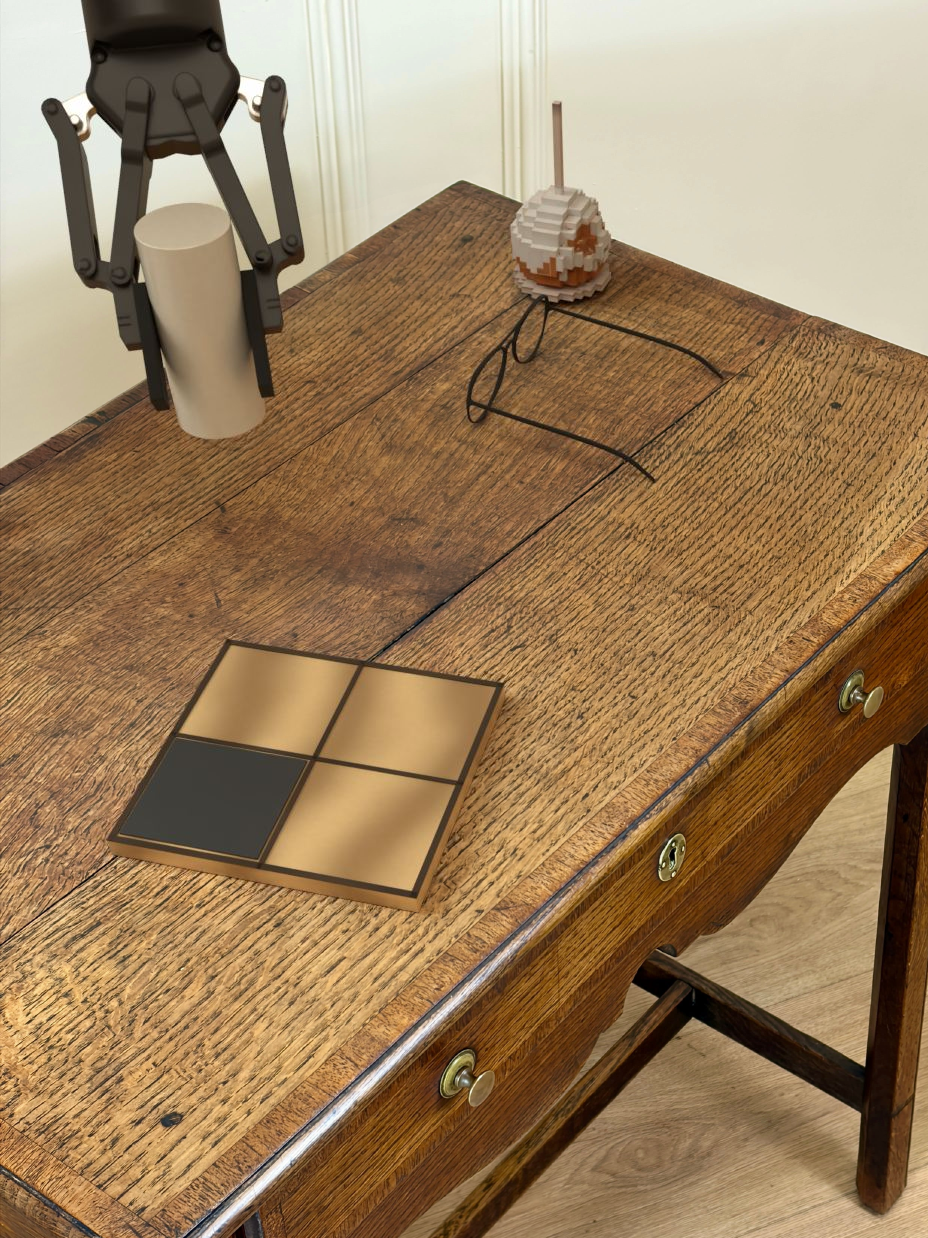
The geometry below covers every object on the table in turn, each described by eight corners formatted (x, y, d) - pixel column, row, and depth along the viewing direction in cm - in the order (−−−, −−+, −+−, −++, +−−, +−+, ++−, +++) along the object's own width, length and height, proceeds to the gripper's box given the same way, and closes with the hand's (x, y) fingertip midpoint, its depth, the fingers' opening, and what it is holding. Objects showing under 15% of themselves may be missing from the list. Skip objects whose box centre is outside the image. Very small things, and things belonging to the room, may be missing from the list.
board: (111, 854, 88) (105, 839, 87) (230, 654, 100) (226, 638, 99) (418, 913, 85) (416, 897, 84) (505, 698, 96) (504, 682, 95)
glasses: (543, 339, 124) (547, 283, 121) (720, 397, 121) (730, 341, 117) (462, 437, 115) (464, 380, 112) (651, 502, 112) (660, 445, 108)
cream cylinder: (163, 433, 93) (117, 243, 84) (198, 385, 96) (157, 198, 88) (246, 444, 92) (208, 253, 83) (279, 395, 95) (245, 207, 87)
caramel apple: (589, 314, 127) (587, 131, 116) (500, 298, 129) (489, 117, 118) (622, 267, 132) (622, 88, 121) (535, 253, 134) (528, 75, 123)
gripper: (314, 0, 93) (375, 392, 94) (-4, 31, 91) (61, 433, 92) (308, -65, 86) (375, 362, 86) (-37, -33, 84) (33, 405, 84)
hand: (213, 397), depth 89 cm, fingers closed on cream cylinder, 5 cm apart
